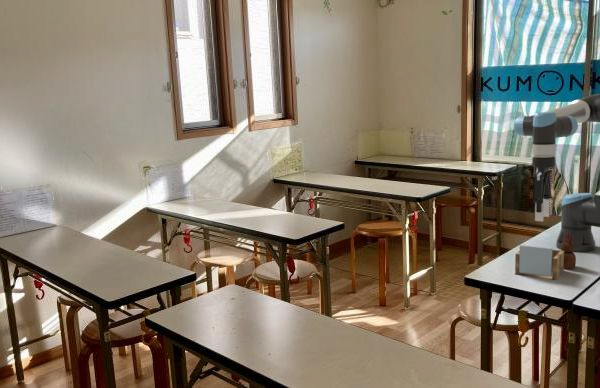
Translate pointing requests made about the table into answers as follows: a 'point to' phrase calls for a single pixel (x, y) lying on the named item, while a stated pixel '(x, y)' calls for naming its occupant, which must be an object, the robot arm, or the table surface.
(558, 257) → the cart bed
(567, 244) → the wooden figurine
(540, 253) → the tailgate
